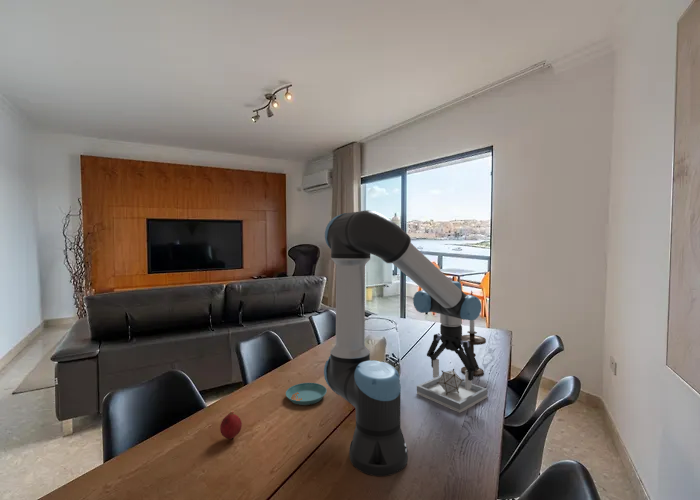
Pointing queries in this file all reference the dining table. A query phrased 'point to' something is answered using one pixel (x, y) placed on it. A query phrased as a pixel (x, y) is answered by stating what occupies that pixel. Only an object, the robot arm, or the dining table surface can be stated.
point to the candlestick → (473, 341)
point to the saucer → (307, 393)
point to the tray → (452, 395)
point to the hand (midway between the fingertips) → (451, 382)
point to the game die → (450, 381)
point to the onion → (230, 425)
